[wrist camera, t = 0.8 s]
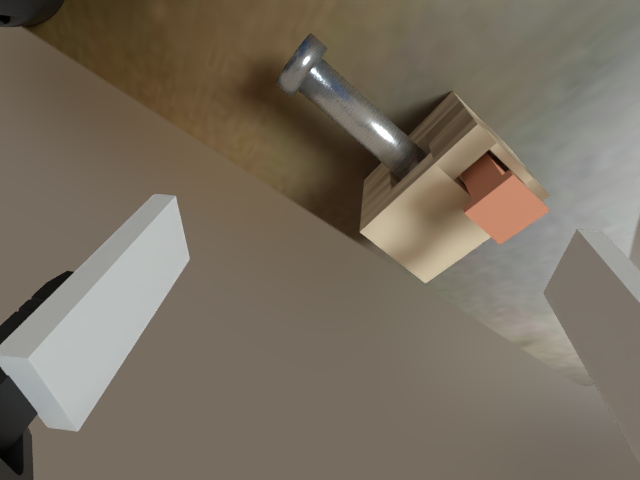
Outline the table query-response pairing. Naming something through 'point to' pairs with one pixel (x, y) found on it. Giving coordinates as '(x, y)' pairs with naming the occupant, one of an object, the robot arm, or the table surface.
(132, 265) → the robot arm
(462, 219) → the block
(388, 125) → the pin
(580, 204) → the table surface
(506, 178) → the plunger
